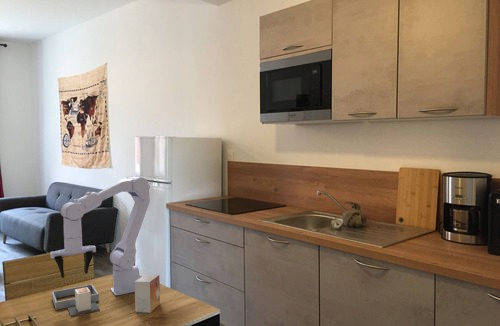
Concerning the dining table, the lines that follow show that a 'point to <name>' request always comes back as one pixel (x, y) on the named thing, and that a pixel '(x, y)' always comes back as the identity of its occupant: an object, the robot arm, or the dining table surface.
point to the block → (83, 299)
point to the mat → (74, 311)
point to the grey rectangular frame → (71, 292)
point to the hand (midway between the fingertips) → (74, 274)
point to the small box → (147, 293)
